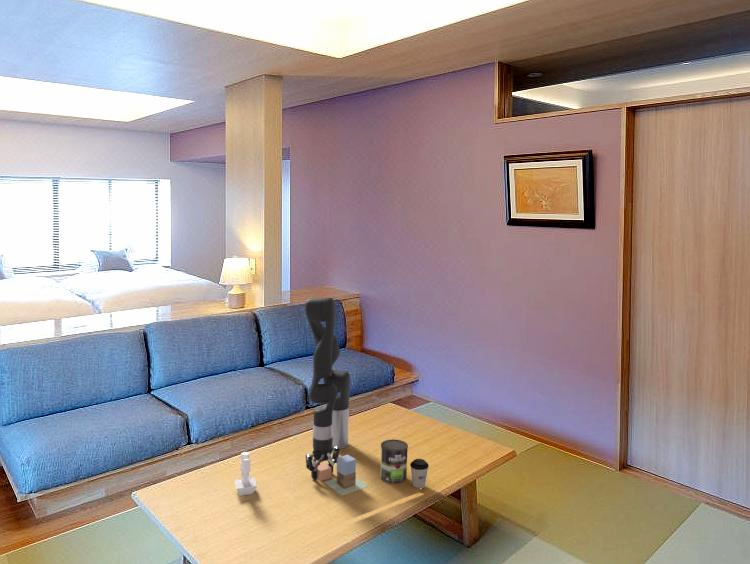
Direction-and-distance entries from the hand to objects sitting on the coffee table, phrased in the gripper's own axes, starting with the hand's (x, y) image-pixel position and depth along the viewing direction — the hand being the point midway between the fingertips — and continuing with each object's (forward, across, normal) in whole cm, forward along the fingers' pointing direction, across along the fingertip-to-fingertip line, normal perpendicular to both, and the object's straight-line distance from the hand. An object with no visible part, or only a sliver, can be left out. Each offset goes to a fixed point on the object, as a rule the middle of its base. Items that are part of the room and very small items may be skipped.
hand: (322, 476), depth 220 cm
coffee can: (+1, +22, -16) cm, 27 cm away
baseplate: (+1, +4, -10) cm, 11 cm away
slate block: (-5, +4, -10) cm, 12 cm away
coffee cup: (+1, +26, -26) cm, 37 cm away
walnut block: (0, +4, -10) cm, 11 cm away
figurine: (+1, -28, +8) cm, 29 cm away
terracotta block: (+1, 0, 0) cm, 1 cm away
